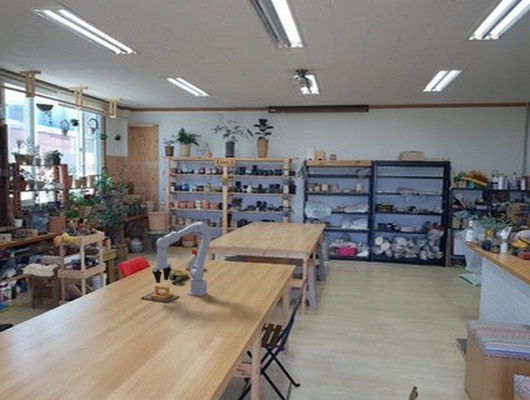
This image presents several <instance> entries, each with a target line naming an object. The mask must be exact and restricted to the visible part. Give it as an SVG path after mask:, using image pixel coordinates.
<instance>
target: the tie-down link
mask: <svg viewBox="0 0 530 400" xmlns="http://www.w3.org/2000/svg"><path fill="white" fill-rule="evenodd" d="M159 290H160V291H159ZM161 290H162V291H161ZM163 290H164V291H163ZM154 292H155V294H153V295H151V298H155V299H162V300H164V299H167V298H169V297H171V296H173V295H174V293H173V292H170V287H169V286H163V285H154ZM161 292H163V295H165V296H159V295H161Z"/></svg>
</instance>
